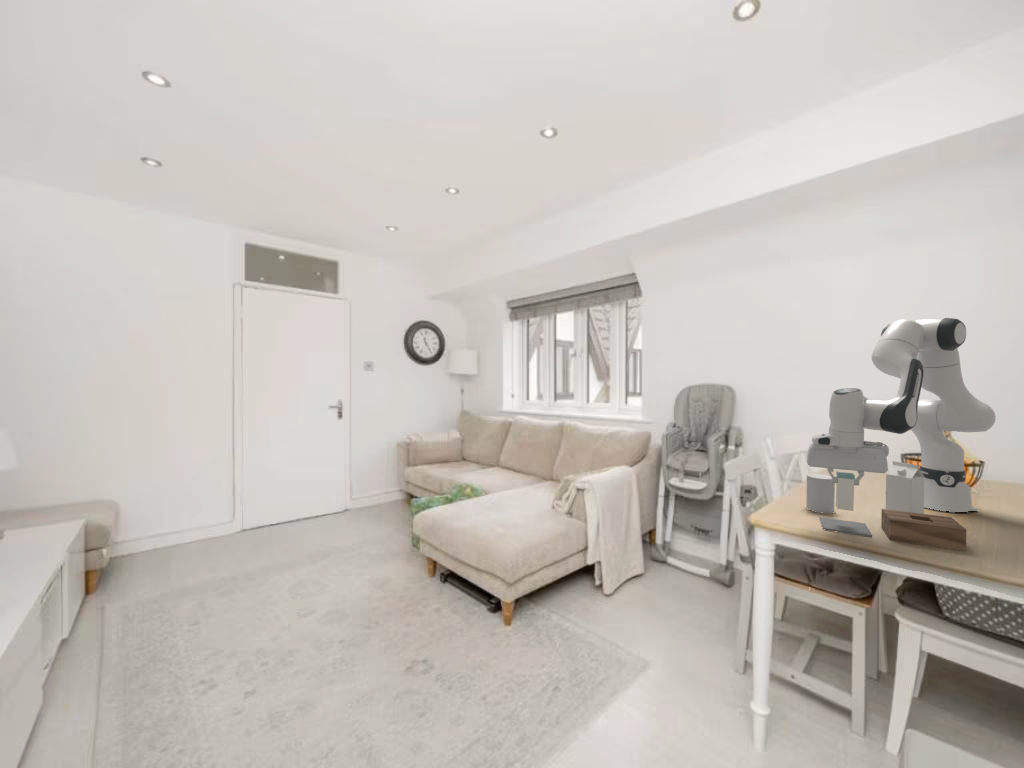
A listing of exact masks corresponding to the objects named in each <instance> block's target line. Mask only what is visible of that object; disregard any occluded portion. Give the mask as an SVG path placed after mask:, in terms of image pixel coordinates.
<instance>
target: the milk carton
mask: <svg viewBox="0 0 1024 768" xmlns="http://www.w3.org/2000/svg"><path fill="white" fill-rule="evenodd" d="M919 469H920V466H919V464H912V463H906V462H901V461H900V462H899V461H895V460H894V461H892V465H891V466H890V467H889V468H888V471H887V472H886V473H885V474H886V475H885V509H889V510H897V511H905V512H913V513H921V514H925V511H924V510H925V507H924V481H925V476H924V475H923V474H922V472H921V471H920V470H919Z"/></svg>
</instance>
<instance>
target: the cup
mask: <svg viewBox="0 0 1024 768" xmlns="http://www.w3.org/2000/svg"><path fill="white" fill-rule="evenodd" d="M835 485H836V483H832V482H831V475H827V474H821V473H807V474H806V500H805V501H806V502H805V503H806V504H805V505H806V506H805V507H807V508H808V509H810V510H813V511H812V512H814V511H816V512H815V513H818V512H823V513H822V514H834V513H835V494H836V491H835V490H836V489H835ZM807 508H806V509H807ZM808 509H807V510H808ZM810 510H809V511H810ZM833 512H834V513H833Z"/></svg>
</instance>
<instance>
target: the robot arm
mask: <svg viewBox="0 0 1024 768" xmlns="http://www.w3.org/2000/svg"><path fill="white" fill-rule="evenodd" d="M966 327H967V326H966V325H965V323H964V322H963V321H961V320H960V319H958V318H954V317H953V318H950V317H945V318H921V319H915V320H913V319H906V318H905V319H898V320H896V321H892V323H889V324H887V325H886V326H885V327H884V328H883V329H882V330H881V334H880V337H879V339H878V341H877V343H876V345H875V346H874V348H873V350H872V354H871V361H872V364H873V365H874V366H875V368H876V369H877V370H879V371H881V373H884V374H886V375H888V376H890V377H895V378H898V379H900V383H899V385H898V391H897V395H896V396H895V397H894V398H891V399H877V398H874V399H873V398H868V397H866V396H864V393H863V390H862V389H860V388H856V387H855V388H852V387H849V388H848V387H847V388H846V387H845V388H839V389H836V390H834V391H833V392H832V393H831V397H830V400H829V401H830V402H829V410H828V411H829V412H828V415H829V416H828V417H829V420H830V424H829V427H828V433H822V434H817V435H814V436H812V438H811V442H812V443H811V444H810V445H809V447H808V450H807V455H806V464H807V465H808V466H809V467H812V468H821V469H826V470H827V472H828V474H829V476H831V482H832V483H835V484H836V483H838V481H837V480H838V478H837V476H834V475H833V473H834V470H842V471H843V470H844V471H855V472H856V473H857V474H858V475H857V477H855V480H854V486H860V481H861V480H862V478H863V477H864V476H865V473H866V472H867V473H877V474H886V473H887V472H888V470H889V465H888V459H887V457H888V456H889V454H890V453H889V451H890V449H889V446H888V445H887V444H885V443H883V442H880V441H876V442H875V441H867V440H865V429H867V430H873V431H880V432H881V431H882V432H883V431H884V432H887V433H892V434H897V435H898V434H899V435H902V434H905V433H907V432H908V431H911V432H912V433H913V434H914V435H915V437H916V438H917V440H918V443H919V445H920V455H921V457H920V460H921V461H920V462H921V463H920V466H919V470H920V471H921V472H922V474H923V475H924V476H925V481H924V509H929V508H930V510H933V509H934V510H933V511H939V510H940V511H941V512H946V511H949V512H948V513H955V512H967V513H969V512H968V511H977V512H978V511H979V508H977V507H975V506H973V504H972V503H973V500H972V488H971V486H969V485H968V484H967V483H966V479H967V474H966V470H965V450H964V448H963V447H962V445H959V444H958V443H956V442H954V441H952V440H950V439H948V438H947V437H946V436H945V433H944V431H948V432H959V433H982V432H987V431H988V430H990V429H991V428H992V427H993V426H994V425H995V423H996V419H997V418H996V413H995V411H994V409H993V408H992V406H990V405H989V404H987V403H985V402H983V401H981V400H980V399H978V398H977V397H975V396H974V395H973V394H972V393H971V392H970V391H969V390H968V389H967V387H966V385H965V382H964V380H963V374H962V368H961V360H960V358H961V357H960V354H959V349H958V348H960V347H961V346H962V345H963V344H964V343H965V341H966V338H967V328H966ZM921 389H923V390H925V391H927V392H929V393H930V394H934V395H935V396H937V397H938V398H939V399H926V398H925V399H924V398H923V399H921V398H920V395H921ZM940 511H939V512H940Z"/></svg>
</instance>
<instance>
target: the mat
mask: <svg viewBox="0 0 1024 768" xmlns="http://www.w3.org/2000/svg"><path fill="white" fill-rule="evenodd" d="M820 521H821V522H820ZM819 522H820V525H821V524H822V525H821V528H822V527H823V528H822V530H823V529H825V530H824V531H827V530H830V531H829V532H834V531H837V532H836V533H841V532H842V534H849V535H856V536H862V537H868V538H873V534H872V532H871V531H870V529H869V528H868V525H867V524H866V523H865V522H858V521H850V520H845V519H844V520H842V519H836V518H831V517H830V518H828V517H824V516H823V517H821V516H820V517H819Z"/></svg>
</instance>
